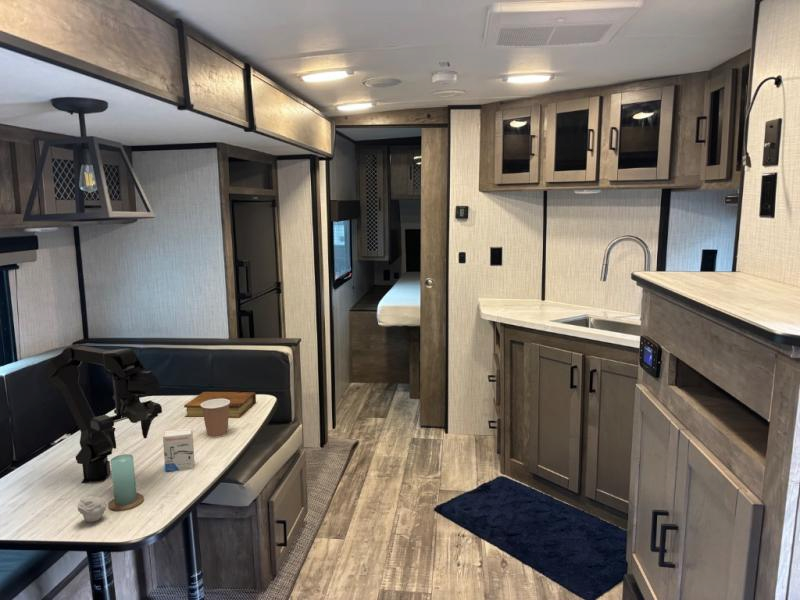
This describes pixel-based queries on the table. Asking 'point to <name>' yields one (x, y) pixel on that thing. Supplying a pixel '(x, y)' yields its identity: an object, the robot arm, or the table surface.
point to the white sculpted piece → (92, 508)
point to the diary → (238, 400)
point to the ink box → (178, 449)
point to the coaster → (122, 508)
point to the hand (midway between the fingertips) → (130, 443)
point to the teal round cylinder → (123, 479)
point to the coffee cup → (216, 416)
